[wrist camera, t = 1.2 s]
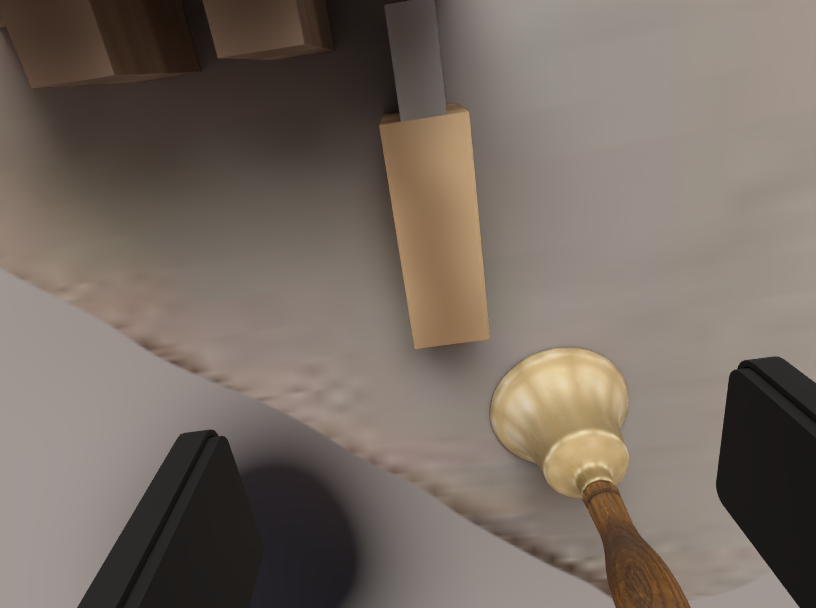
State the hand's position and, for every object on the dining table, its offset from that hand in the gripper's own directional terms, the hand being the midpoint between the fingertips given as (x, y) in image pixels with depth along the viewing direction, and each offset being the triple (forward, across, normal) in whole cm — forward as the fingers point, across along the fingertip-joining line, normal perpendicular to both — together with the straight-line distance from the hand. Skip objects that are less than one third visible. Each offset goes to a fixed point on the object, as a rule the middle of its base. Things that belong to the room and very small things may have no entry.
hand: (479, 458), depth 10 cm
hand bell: (+19, -6, +13) cm, 24 cm away
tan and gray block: (+19, 0, -2) cm, 19 cm away
